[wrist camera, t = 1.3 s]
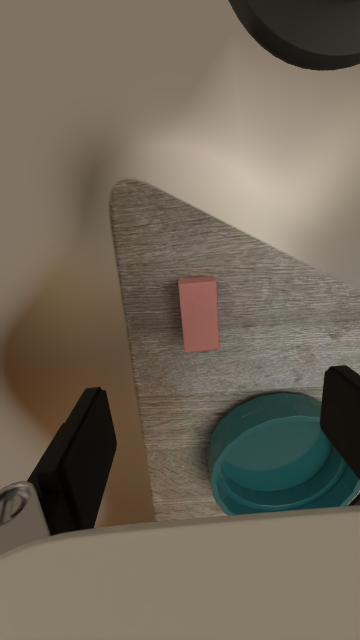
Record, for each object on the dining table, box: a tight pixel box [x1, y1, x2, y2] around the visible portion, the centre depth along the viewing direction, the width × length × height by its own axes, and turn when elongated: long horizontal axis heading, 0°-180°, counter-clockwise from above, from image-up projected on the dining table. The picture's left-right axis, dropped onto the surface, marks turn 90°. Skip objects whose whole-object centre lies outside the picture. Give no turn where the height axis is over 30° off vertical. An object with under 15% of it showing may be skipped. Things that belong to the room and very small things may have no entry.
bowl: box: [207, 393, 360, 516], centre depth 26 cm, size 15×15×4 cm
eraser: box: [178, 276, 219, 352], centre depth 21 cm, size 6×3×2 cm, turn 5°
